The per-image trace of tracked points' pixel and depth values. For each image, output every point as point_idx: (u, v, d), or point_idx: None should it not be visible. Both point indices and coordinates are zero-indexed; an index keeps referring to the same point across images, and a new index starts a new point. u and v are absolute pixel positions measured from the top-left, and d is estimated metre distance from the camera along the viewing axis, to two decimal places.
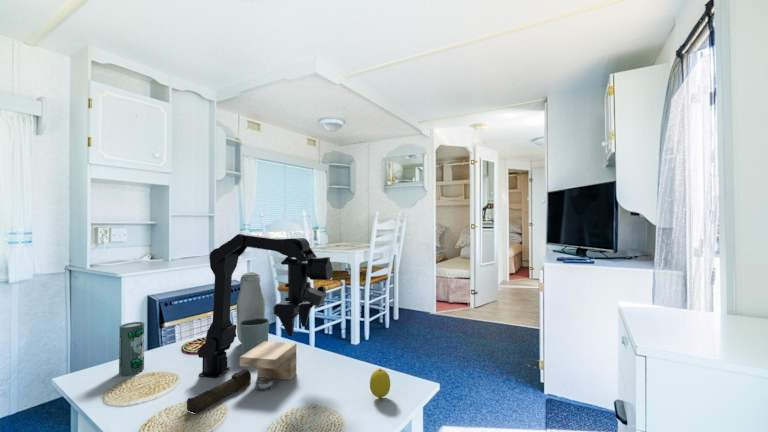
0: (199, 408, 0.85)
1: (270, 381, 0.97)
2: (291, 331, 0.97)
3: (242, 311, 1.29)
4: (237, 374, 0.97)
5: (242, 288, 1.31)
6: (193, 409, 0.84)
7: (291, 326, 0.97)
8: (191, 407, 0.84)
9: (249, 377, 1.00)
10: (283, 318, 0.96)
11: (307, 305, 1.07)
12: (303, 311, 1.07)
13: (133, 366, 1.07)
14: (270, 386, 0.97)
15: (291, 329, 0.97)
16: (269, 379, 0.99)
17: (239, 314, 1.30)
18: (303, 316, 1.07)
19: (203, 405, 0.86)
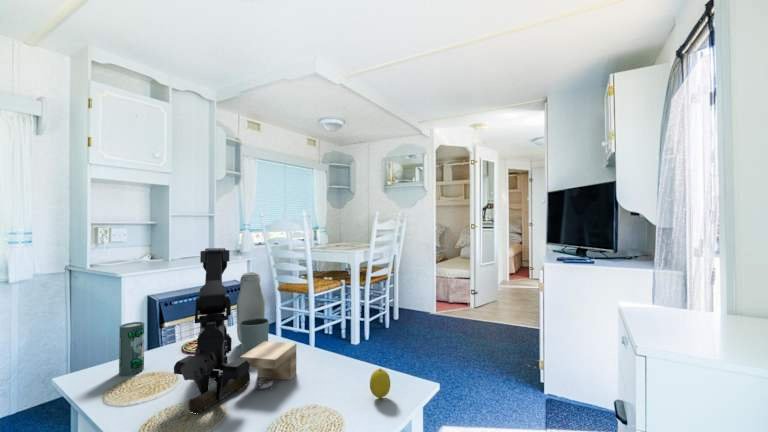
0: (202, 408, 0.84)
1: (270, 381, 0.97)
2: None
3: (242, 312, 1.29)
4: None
5: (242, 288, 1.31)
6: (195, 409, 0.83)
7: None
8: (193, 407, 0.84)
9: (249, 377, 1.01)
10: None
11: None
12: None
13: (133, 366, 1.07)
14: (270, 386, 0.97)
15: None
16: (269, 379, 0.99)
17: (239, 314, 1.30)
18: None
19: (205, 405, 0.85)
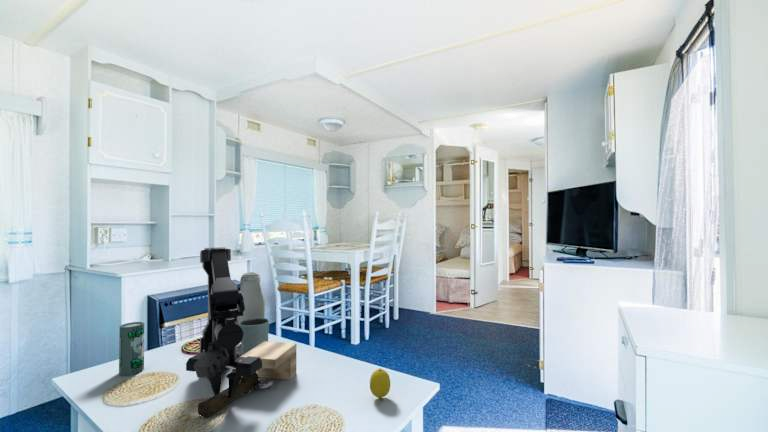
0: (211, 412, 0.83)
1: (270, 381, 0.97)
2: None
3: None
4: (246, 376, 0.95)
5: (242, 288, 1.31)
6: (204, 413, 0.82)
7: None
8: (202, 411, 0.82)
9: (257, 379, 0.99)
10: None
11: None
12: None
13: (133, 366, 1.07)
14: (270, 386, 0.97)
15: None
16: (269, 379, 0.99)
17: None
18: None
19: (215, 408, 0.84)
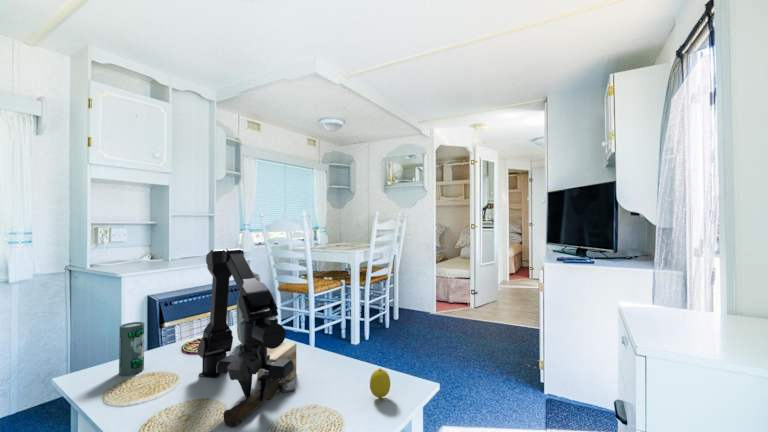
0: (238, 420, 0.79)
1: (293, 382, 0.96)
2: None
3: None
4: None
5: None
6: (232, 422, 0.78)
7: None
8: (229, 419, 0.78)
9: (278, 384, 0.95)
10: None
11: None
12: None
13: (133, 366, 1.07)
14: (294, 387, 0.96)
15: None
16: (291, 380, 0.98)
17: (239, 314, 1.30)
18: None
19: (241, 417, 0.80)
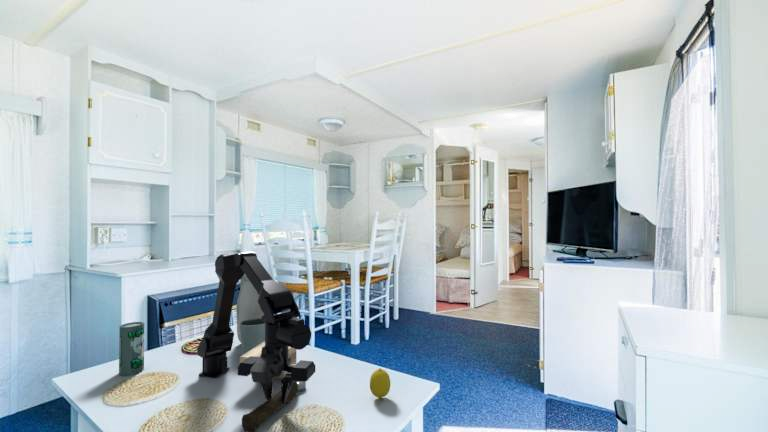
0: (256, 425, 0.77)
1: None
2: None
3: (242, 312, 1.29)
4: None
5: (242, 288, 1.31)
6: (250, 427, 0.76)
7: None
8: (247, 424, 0.76)
9: (297, 388, 0.93)
10: None
11: None
12: None
13: (133, 366, 1.07)
14: (305, 386, 0.97)
15: None
16: None
17: (239, 314, 1.30)
18: None
19: (260, 422, 0.78)
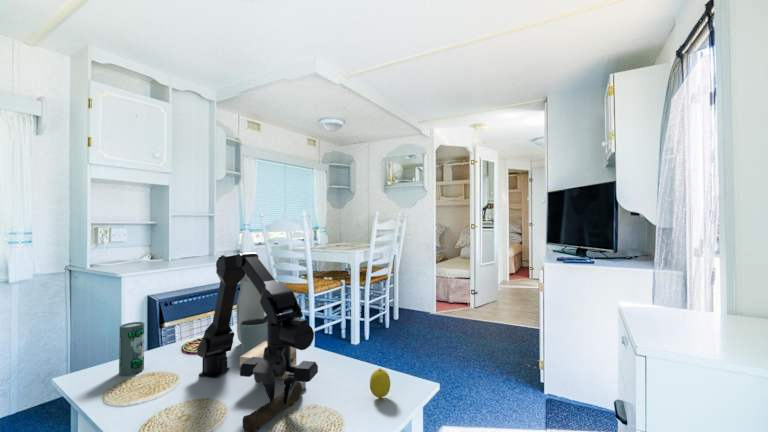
0: (257, 427, 0.77)
1: None
2: None
3: (242, 312, 1.29)
4: None
5: (242, 288, 1.31)
6: (250, 428, 0.76)
7: None
8: (248, 426, 0.76)
9: (301, 390, 0.92)
10: None
11: None
12: None
13: (133, 366, 1.07)
14: (305, 386, 0.97)
15: None
16: None
17: (239, 314, 1.30)
18: None
19: (260, 423, 0.78)
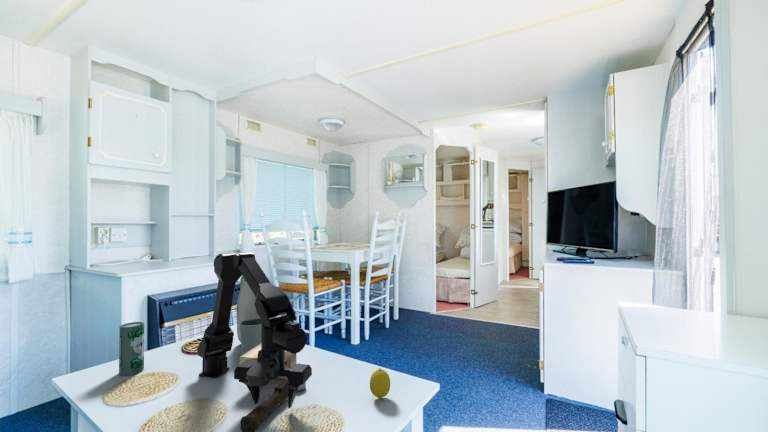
0: (256, 426, 0.77)
1: None
2: None
3: (242, 312, 1.29)
4: (280, 385, 0.90)
5: (242, 288, 1.31)
6: (250, 428, 0.76)
7: None
8: (247, 426, 0.76)
9: None
10: None
11: None
12: None
13: (133, 366, 1.07)
14: (305, 386, 0.97)
15: None
16: None
17: (239, 314, 1.30)
18: None
19: (259, 422, 0.78)
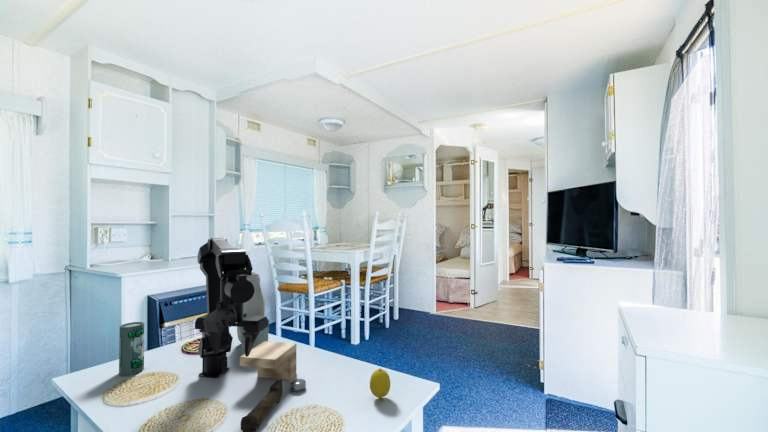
0: (257, 425, 0.77)
1: (303, 381, 0.97)
2: None
3: None
4: (275, 385, 0.90)
5: None
6: (251, 428, 0.76)
7: None
8: (248, 426, 0.76)
9: None
10: None
11: None
12: None
13: (133, 366, 1.07)
14: (305, 386, 0.97)
15: None
16: (299, 380, 0.98)
17: None
18: None
19: (259, 422, 0.78)
